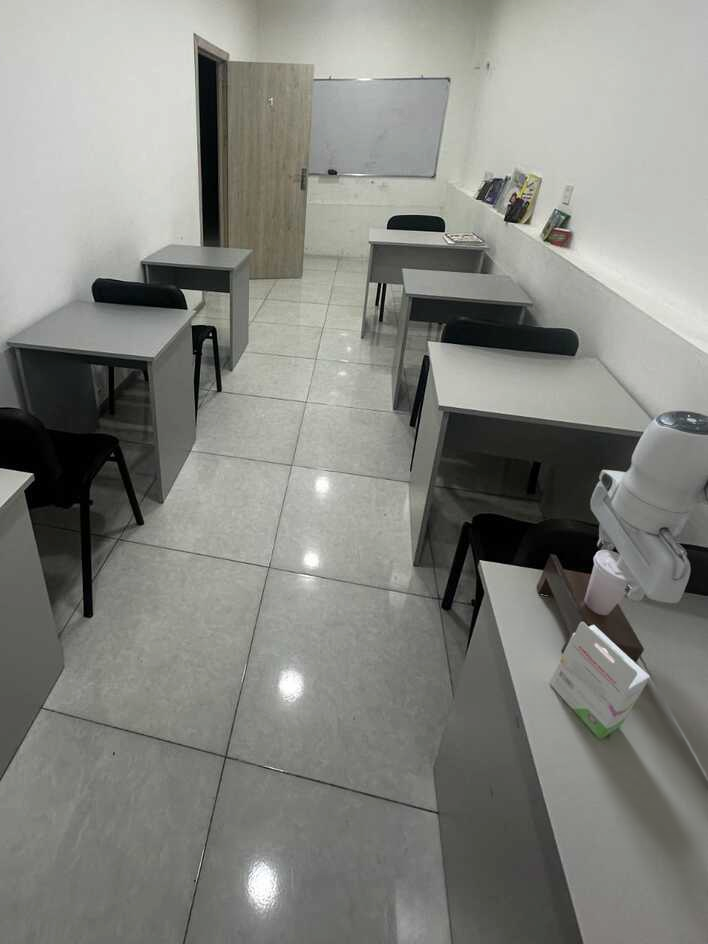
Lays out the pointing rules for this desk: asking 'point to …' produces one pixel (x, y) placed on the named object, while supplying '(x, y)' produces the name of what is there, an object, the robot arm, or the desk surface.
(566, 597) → the shelf
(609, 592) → the smoothie
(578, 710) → the ink box
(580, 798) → the desk surface
